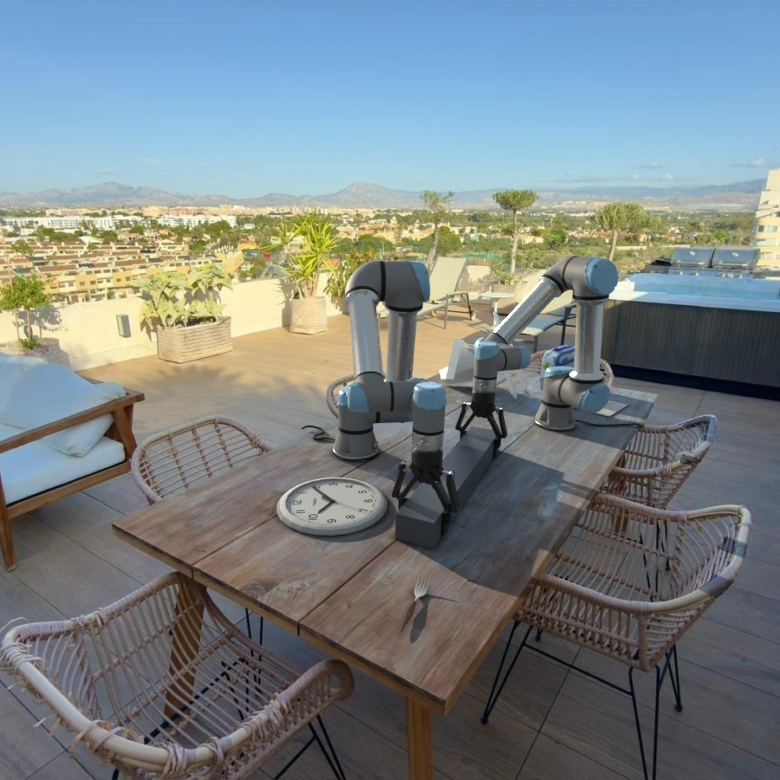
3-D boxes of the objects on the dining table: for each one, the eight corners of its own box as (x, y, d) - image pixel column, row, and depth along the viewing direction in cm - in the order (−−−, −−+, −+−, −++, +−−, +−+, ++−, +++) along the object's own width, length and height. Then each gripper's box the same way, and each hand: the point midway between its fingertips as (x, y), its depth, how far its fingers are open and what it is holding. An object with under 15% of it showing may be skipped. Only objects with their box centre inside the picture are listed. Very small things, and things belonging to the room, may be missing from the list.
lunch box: (556, 397, 237) (562, 352, 231) (535, 392, 244) (540, 348, 238) (583, 386, 255) (589, 344, 248) (562, 381, 262) (567, 340, 256)
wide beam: (470, 444, 184) (471, 426, 182) (498, 449, 180) (500, 430, 178) (394, 538, 128) (395, 513, 126) (433, 549, 124) (434, 523, 122)
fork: (394, 632, 98) (394, 623, 98) (419, 581, 113) (419, 573, 112) (407, 636, 97) (407, 627, 97) (430, 584, 112) (431, 576, 111)
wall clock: (392, 527, 129) (268, 531, 127) (391, 533, 130) (269, 537, 127) (383, 473, 158) (282, 475, 155) (383, 478, 158) (282, 480, 156)
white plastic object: (461, 429, 252) (437, 405, 227) (444, 352, 274) (420, 323, 250) (535, 404, 240) (518, 377, 215) (510, 326, 262) (492, 293, 237)
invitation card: (608, 416, 214) (573, 407, 224) (608, 416, 214) (573, 408, 224) (628, 404, 229) (594, 396, 238) (628, 405, 229) (594, 397, 238)
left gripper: (378, 443, 126) (377, 524, 133) (468, 462, 117) (462, 547, 124) (391, 433, 133) (389, 510, 139) (477, 450, 124) (471, 531, 131)
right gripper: (447, 388, 171) (443, 450, 178) (516, 398, 162) (510, 463, 169) (454, 382, 178) (450, 442, 184) (521, 391, 169) (515, 455, 175)
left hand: (423, 528), depth 132 cm, fingers closed on wide beam, 10 cm apart
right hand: (479, 452), depth 176 cm, fingers closed on wide beam, 10 cm apart
